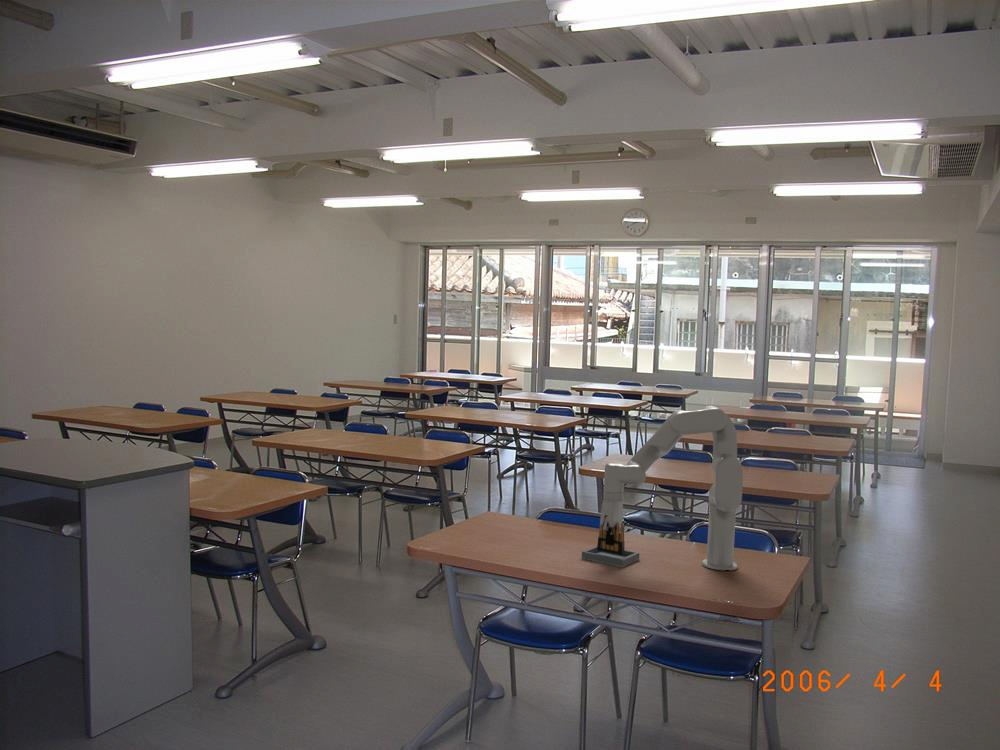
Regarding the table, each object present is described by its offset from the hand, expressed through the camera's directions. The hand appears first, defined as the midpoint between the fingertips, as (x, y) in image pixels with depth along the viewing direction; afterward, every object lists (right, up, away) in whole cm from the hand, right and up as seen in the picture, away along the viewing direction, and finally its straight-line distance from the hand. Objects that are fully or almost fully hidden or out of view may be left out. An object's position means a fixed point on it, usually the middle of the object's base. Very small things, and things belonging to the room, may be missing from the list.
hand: (611, 543), depth 296 cm
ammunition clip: (0, -3, 0) cm, 3 cm away
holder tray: (0, -6, 0) cm, 6 cm away
